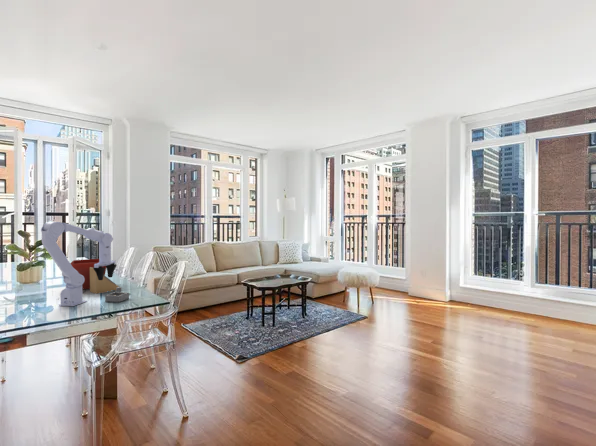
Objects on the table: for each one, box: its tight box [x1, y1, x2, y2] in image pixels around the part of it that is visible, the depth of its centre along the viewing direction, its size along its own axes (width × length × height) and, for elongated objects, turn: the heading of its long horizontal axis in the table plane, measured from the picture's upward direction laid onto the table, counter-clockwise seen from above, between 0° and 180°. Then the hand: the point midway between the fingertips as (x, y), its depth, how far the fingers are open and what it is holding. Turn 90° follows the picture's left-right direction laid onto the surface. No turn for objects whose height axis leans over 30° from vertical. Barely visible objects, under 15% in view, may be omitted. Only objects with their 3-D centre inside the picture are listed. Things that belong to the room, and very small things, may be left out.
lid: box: [115, 286, 132, 295], centre depth 188 cm, size 9×9×5 cm
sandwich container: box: [89, 267, 123, 295], centre depth 201 cm, size 9×15×15 cm, turn 143°
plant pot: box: [70, 258, 107, 290], centre depth 209 cm, size 19×19×17 cm
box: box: [104, 291, 130, 304], centre depth 178 cm, size 8×8×4 cm
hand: (105, 278), depth 185 cm, fingers open, 7 cm apart
